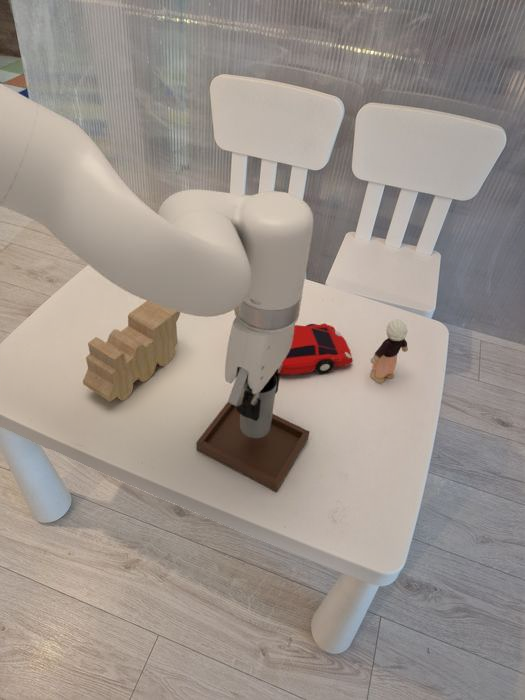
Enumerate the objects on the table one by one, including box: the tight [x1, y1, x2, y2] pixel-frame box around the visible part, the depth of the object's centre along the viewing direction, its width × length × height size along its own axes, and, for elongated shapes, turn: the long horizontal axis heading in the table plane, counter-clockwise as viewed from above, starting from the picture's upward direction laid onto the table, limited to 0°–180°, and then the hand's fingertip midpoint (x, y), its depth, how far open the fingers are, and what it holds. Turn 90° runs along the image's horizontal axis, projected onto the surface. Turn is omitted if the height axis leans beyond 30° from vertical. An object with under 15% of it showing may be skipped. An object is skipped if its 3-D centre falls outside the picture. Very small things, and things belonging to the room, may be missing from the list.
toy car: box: [277, 323, 354, 376], centre depth 92 cm, size 10×20×5 cm, turn 106°
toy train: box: [82, 300, 181, 402], centre depth 85 cm, size 6×17×10 cm, turn 146°
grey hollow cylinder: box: [240, 374, 277, 438], centre depth 73 cm, size 4×4×10 cm
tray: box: [195, 401, 311, 493], centre depth 79 cm, size 14×11×2 cm
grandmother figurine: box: [369, 319, 409, 384], centre depth 87 cm, size 8×4×13 cm, turn 132°
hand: (257, 401), depth 72 cm, fingers closed on grey hollow cylinder, 4 cm apart
